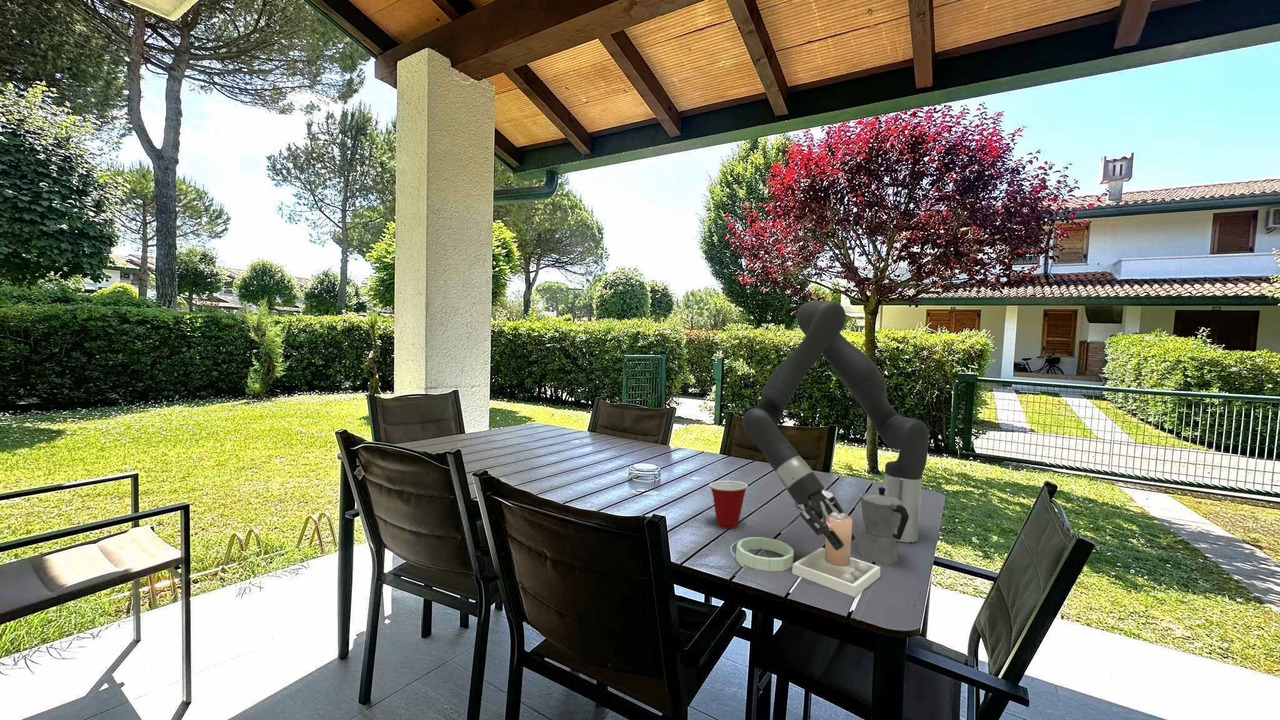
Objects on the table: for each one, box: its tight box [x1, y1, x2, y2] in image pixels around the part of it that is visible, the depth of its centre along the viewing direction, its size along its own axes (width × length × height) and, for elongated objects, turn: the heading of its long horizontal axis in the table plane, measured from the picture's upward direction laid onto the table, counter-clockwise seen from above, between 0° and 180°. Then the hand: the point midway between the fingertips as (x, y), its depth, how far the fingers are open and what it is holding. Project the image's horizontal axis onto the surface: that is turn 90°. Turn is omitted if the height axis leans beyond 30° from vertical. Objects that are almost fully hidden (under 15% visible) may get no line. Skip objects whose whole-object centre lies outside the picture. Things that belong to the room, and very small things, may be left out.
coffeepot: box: [857, 486, 909, 565], centre depth 127 cm, size 15×9×18 cm, turn 14°
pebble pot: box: [824, 512, 853, 567], centre depth 117 cm, size 5×5×11 cm
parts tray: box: [791, 547, 881, 598], centre depth 117 cm, size 14×14×4 cm
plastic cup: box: [709, 480, 748, 529], centre depth 148 cm, size 11×11×12 cm
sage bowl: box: [735, 536, 795, 572], centre depth 124 cm, size 13×13×4 cm
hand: (846, 544), depth 116 cm, fingers closed on pebble pot, 5 cm apart
